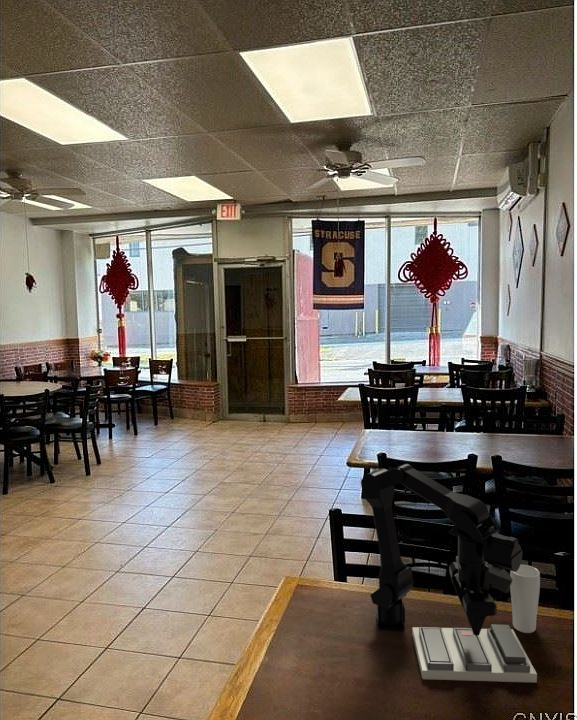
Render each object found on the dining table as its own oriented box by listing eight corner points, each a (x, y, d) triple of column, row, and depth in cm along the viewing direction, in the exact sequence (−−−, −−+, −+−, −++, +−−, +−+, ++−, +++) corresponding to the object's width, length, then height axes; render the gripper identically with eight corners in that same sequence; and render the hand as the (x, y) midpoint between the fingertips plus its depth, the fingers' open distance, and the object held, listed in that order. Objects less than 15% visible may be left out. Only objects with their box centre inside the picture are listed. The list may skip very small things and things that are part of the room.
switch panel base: (422, 679, 119) (422, 663, 118) (412, 634, 135) (412, 621, 134) (536, 682, 117) (536, 667, 116) (512, 637, 132) (512, 623, 132)
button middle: (468, 668, 119) (468, 661, 118) (456, 635, 130) (456, 629, 130) (487, 669, 118) (487, 662, 118) (473, 635, 130) (473, 629, 130)
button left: (430, 667, 119) (430, 660, 119) (422, 634, 131) (422, 628, 131) (449, 667, 119) (449, 661, 119) (439, 634, 131) (439, 628, 131)
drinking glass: (542, 637, 132) (543, 578, 131) (512, 634, 133) (513, 576, 132) (535, 621, 139) (536, 564, 137) (507, 619, 140) (507, 563, 138)
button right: (506, 663, 118) (506, 656, 118) (490, 630, 130) (490, 624, 129) (525, 663, 117) (525, 657, 117) (508, 630, 129) (508, 624, 129)
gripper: (522, 578, 112) (521, 649, 114) (496, 539, 131) (496, 601, 132) (467, 577, 113) (467, 648, 115) (448, 539, 132) (449, 600, 133)
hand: (471, 622), depth 124 cm, fingers open, 9 cm apart
